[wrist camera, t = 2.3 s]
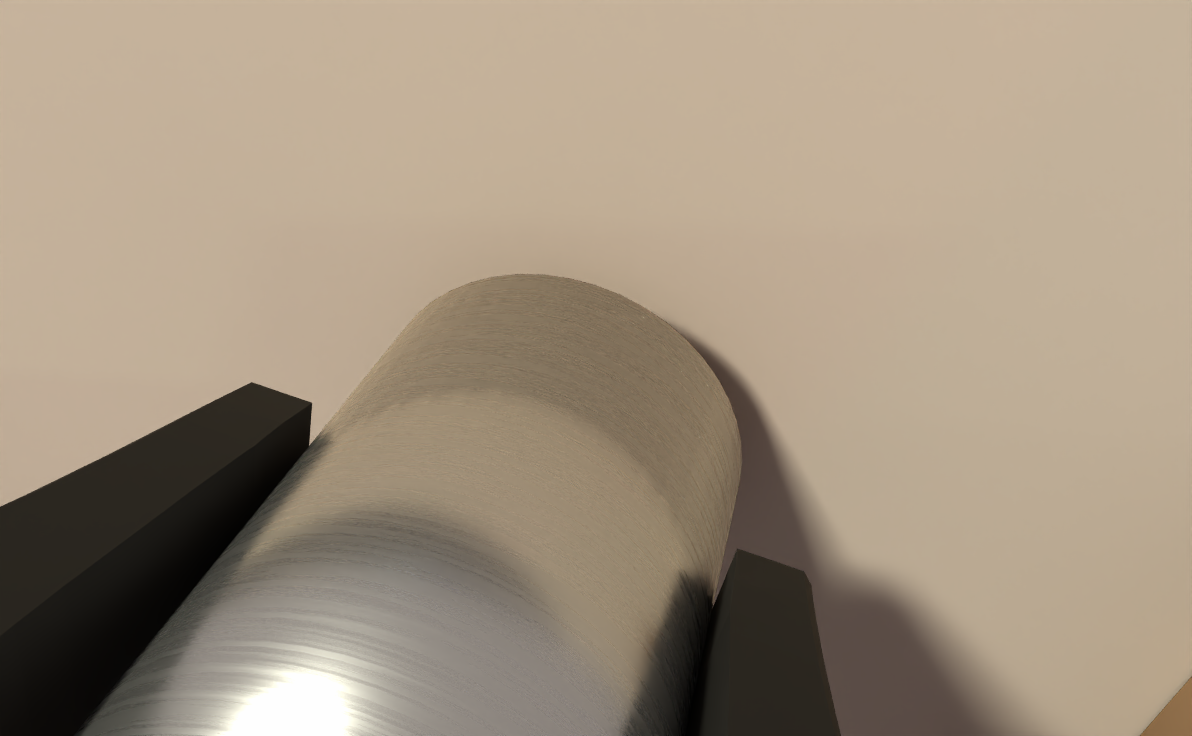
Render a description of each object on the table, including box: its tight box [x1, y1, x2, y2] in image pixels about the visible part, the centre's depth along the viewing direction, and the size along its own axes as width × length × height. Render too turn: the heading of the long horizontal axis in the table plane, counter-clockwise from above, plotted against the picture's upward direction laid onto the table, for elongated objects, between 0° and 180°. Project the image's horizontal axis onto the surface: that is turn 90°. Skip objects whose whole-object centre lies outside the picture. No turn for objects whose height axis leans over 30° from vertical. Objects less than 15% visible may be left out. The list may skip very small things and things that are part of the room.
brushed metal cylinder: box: [74, 274, 742, 736], centre depth 9 cm, size 4×4×6 cm
